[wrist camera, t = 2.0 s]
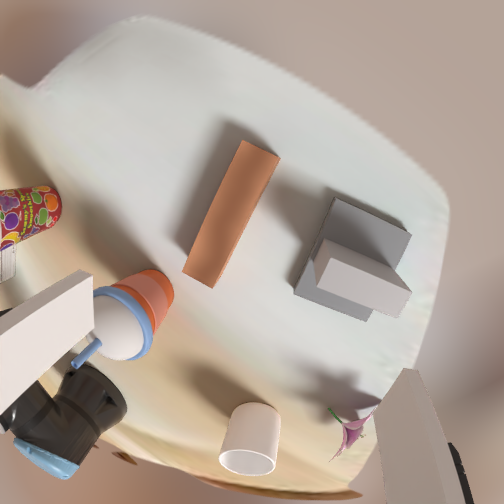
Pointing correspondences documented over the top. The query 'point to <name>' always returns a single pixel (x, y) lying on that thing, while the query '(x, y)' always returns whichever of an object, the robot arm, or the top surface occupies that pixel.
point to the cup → (251, 440)
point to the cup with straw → (127, 316)
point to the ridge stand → (355, 264)
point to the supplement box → (7, 263)
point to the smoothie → (27, 213)
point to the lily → (351, 431)
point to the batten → (230, 212)
